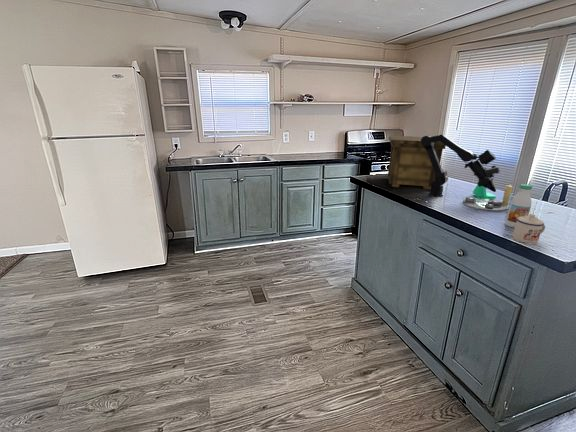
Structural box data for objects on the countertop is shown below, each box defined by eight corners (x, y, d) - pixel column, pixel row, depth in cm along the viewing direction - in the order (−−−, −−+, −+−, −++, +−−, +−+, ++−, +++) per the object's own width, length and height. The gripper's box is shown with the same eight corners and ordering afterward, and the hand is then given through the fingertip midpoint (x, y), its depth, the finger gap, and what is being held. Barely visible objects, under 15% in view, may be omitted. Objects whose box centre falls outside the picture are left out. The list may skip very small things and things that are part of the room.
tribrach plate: (482, 212, 163) (483, 206, 162) (453, 200, 183) (454, 195, 182) (516, 210, 167) (518, 204, 166) (485, 199, 187) (486, 194, 186)
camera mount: (495, 200, 185) (499, 184, 182) (483, 200, 185) (487, 183, 182) (483, 195, 197) (487, 179, 193) (472, 195, 197) (475, 179, 193)
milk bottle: (501, 223, 147) (511, 183, 140) (515, 223, 148) (527, 183, 141) (513, 229, 140) (525, 187, 133) (528, 228, 141) (541, 187, 134)
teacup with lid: (523, 245, 123) (531, 218, 120) (506, 236, 132) (513, 210, 128) (550, 244, 125) (559, 217, 121) (531, 235, 133) (538, 210, 129)
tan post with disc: (487, 208, 164) (492, 188, 161) (477, 204, 171) (481, 185, 167) (512, 206, 168) (517, 187, 164) (501, 203, 174) (506, 184, 171)
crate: (384, 177, 244) (389, 135, 233) (431, 180, 235) (438, 137, 224) (385, 187, 212) (391, 139, 201) (439, 191, 204) (448, 141, 193)
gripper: (489, 163, 164) (508, 186, 161) (494, 159, 177) (511, 180, 175) (469, 175, 171) (487, 197, 168) (475, 170, 185) (492, 191, 182)
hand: (495, 191), depth 173 cm, fingers closed
